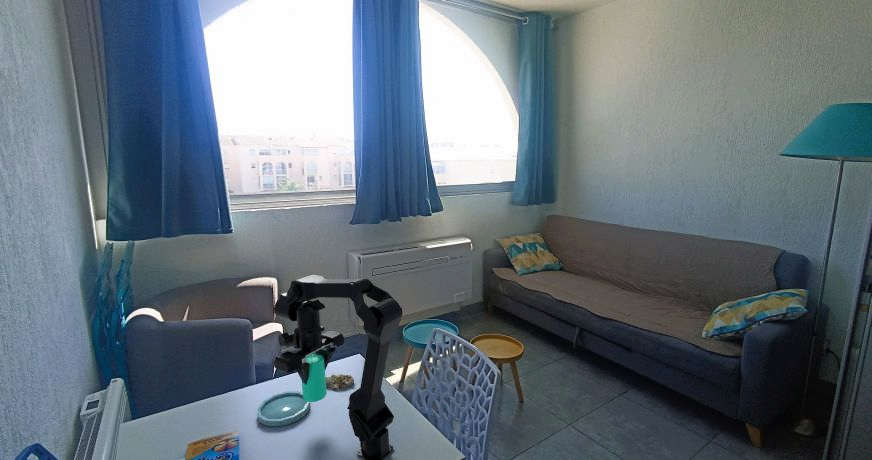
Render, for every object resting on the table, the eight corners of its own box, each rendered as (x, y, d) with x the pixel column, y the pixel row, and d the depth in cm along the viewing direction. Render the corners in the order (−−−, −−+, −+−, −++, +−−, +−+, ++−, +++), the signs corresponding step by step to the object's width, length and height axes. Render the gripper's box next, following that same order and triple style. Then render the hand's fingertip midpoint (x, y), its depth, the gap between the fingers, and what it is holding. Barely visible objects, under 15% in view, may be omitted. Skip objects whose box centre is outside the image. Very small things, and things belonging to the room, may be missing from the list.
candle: (319, 403, 102) (316, 360, 100) (298, 401, 103) (294, 358, 101) (330, 390, 108) (327, 349, 106) (310, 388, 109) (306, 347, 107)
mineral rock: (357, 370, 131) (350, 376, 123) (357, 383, 130) (351, 391, 122) (324, 371, 131) (316, 378, 123) (325, 385, 131) (316, 392, 123)
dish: (320, 406, 115) (320, 399, 115) (279, 434, 103) (278, 427, 103) (289, 392, 122) (288, 386, 122) (247, 417, 111) (246, 410, 110)
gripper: (316, 307, 114) (320, 357, 117) (257, 331, 99) (263, 388, 101) (344, 314, 108) (347, 367, 111) (286, 340, 93) (291, 401, 96)
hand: (313, 379), depth 105 cm, fingers closed on candle, 5 cm apart
